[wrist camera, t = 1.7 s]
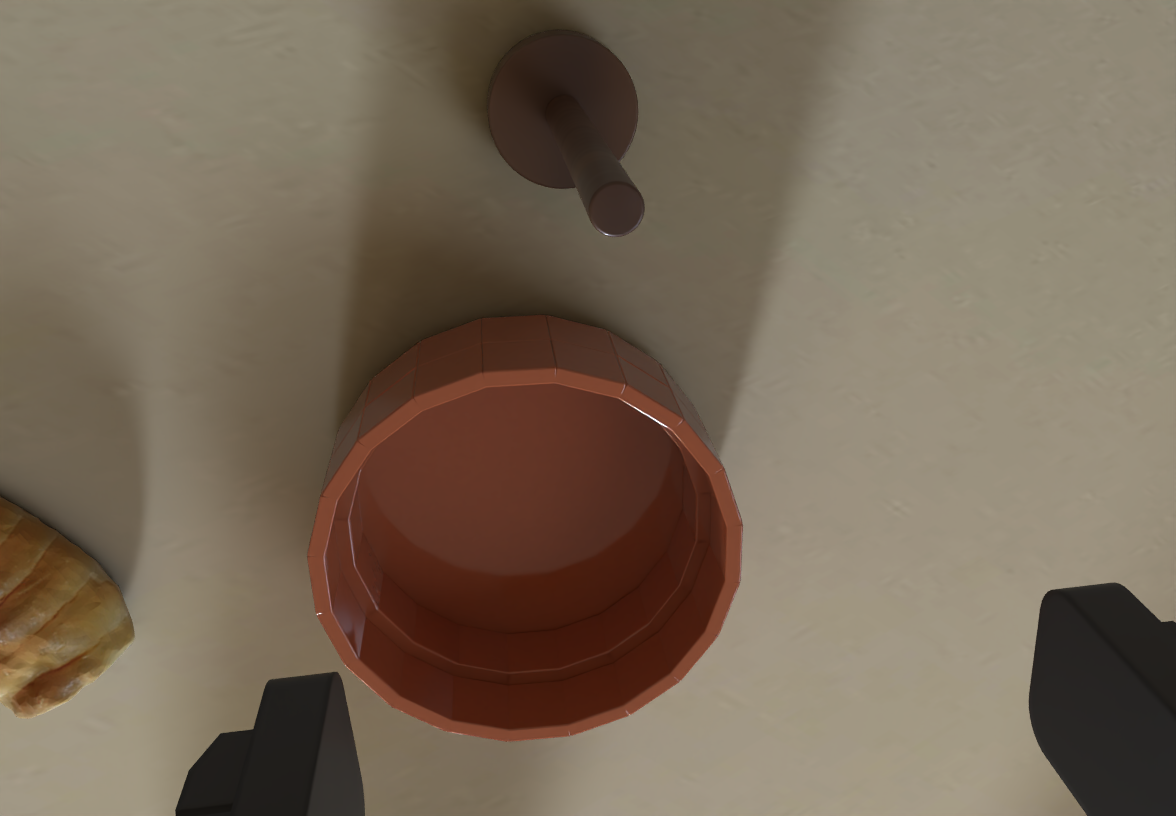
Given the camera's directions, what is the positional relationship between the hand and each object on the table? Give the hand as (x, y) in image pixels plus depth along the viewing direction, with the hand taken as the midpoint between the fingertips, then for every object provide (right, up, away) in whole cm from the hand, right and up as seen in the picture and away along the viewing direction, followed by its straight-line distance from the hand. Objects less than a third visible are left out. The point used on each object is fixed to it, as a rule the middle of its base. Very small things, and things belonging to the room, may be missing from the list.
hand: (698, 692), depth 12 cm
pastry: (-24, -4, +30) cm, 39 cm away
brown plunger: (-2, +14, +25) cm, 29 cm away
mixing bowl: (-4, 0, +31) cm, 31 cm away
